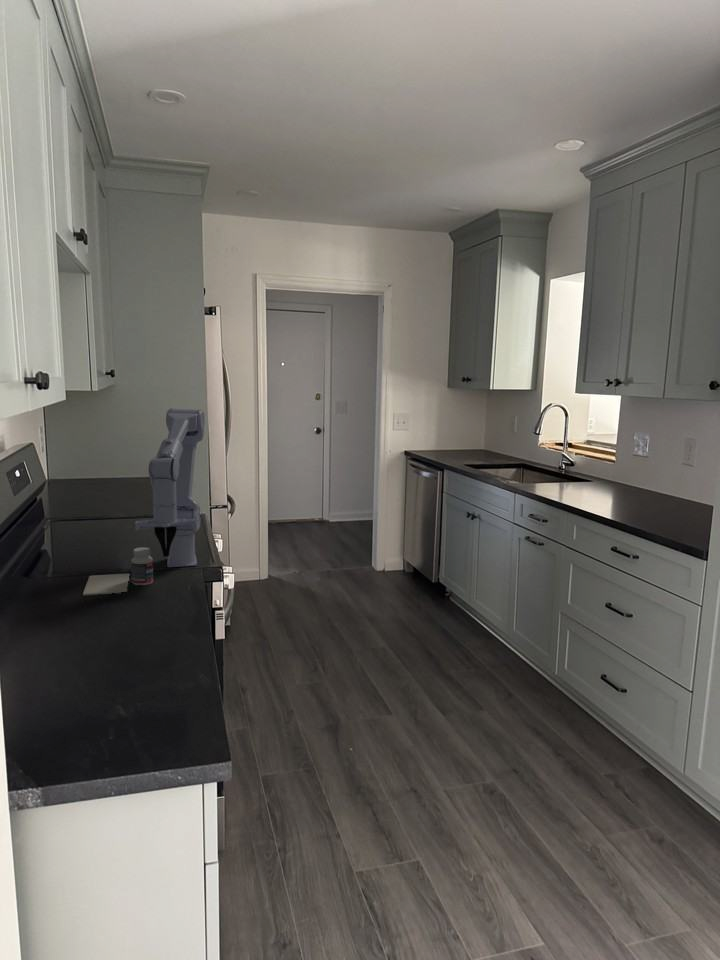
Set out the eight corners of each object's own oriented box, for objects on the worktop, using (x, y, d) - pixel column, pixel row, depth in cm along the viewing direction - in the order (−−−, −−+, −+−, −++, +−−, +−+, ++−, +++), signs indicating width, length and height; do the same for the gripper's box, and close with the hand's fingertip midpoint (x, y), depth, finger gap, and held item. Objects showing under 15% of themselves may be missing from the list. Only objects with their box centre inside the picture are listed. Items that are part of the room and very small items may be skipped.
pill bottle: (149, 586, 165) (148, 552, 163) (128, 585, 165) (127, 552, 163) (156, 579, 170) (155, 546, 168) (136, 579, 170) (135, 546, 169)
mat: (89, 577, 170) (89, 575, 170) (130, 574, 173) (129, 573, 173) (82, 595, 157) (82, 594, 157) (126, 592, 160) (126, 591, 160)
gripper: (134, 508, 160) (135, 561, 162) (194, 506, 164) (195, 558, 166) (135, 502, 166) (137, 553, 169) (193, 500, 170) (194, 550, 173)
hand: (166, 555), depth 168 cm, fingers closed
